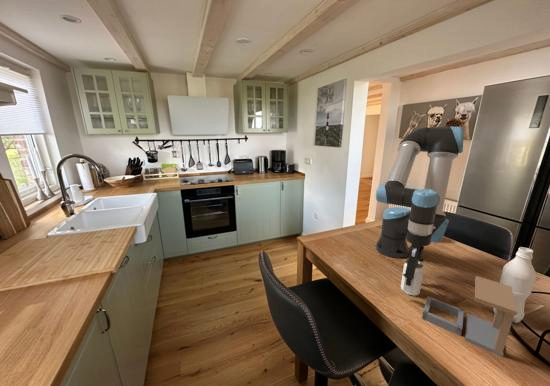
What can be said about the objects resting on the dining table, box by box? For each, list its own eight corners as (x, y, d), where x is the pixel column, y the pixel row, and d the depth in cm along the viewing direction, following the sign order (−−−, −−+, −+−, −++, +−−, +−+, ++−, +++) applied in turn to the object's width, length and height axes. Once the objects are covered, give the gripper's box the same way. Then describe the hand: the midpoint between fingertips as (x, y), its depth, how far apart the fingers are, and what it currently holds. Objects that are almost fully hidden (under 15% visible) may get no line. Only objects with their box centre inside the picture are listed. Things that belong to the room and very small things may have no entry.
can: (422, 297, 83) (427, 269, 80) (403, 295, 84) (408, 267, 81) (415, 286, 89) (420, 259, 86) (398, 284, 91) (402, 258, 88)
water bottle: (485, 309, 77) (502, 244, 71) (503, 307, 78) (523, 243, 71) (507, 326, 70) (529, 256, 64) (528, 324, 71) (551, 254, 64)
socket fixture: (421, 321, 73) (428, 281, 69) (427, 299, 82) (434, 263, 78) (502, 358, 60) (517, 311, 57) (499, 327, 70) (511, 286, 66)
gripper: (426, 247, 69) (416, 305, 75) (436, 224, 87) (427, 272, 92) (399, 240, 74) (392, 295, 80) (414, 220, 92) (407, 265, 97)
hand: (411, 283), depth 86 cm, fingers open, 12 cm apart
